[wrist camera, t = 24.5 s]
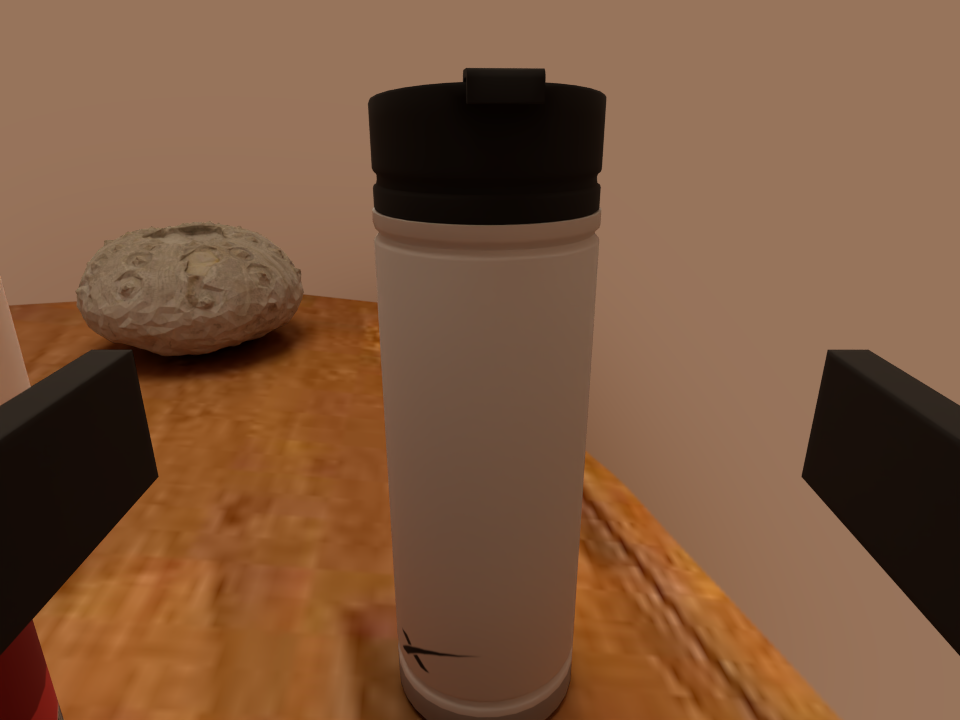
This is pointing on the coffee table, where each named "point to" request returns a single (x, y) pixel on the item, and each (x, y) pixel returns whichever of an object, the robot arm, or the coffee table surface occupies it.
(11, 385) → the cylindrical container
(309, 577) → the coffee table surface
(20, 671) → the canned food
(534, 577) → the travel mug
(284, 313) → the decorative shell
